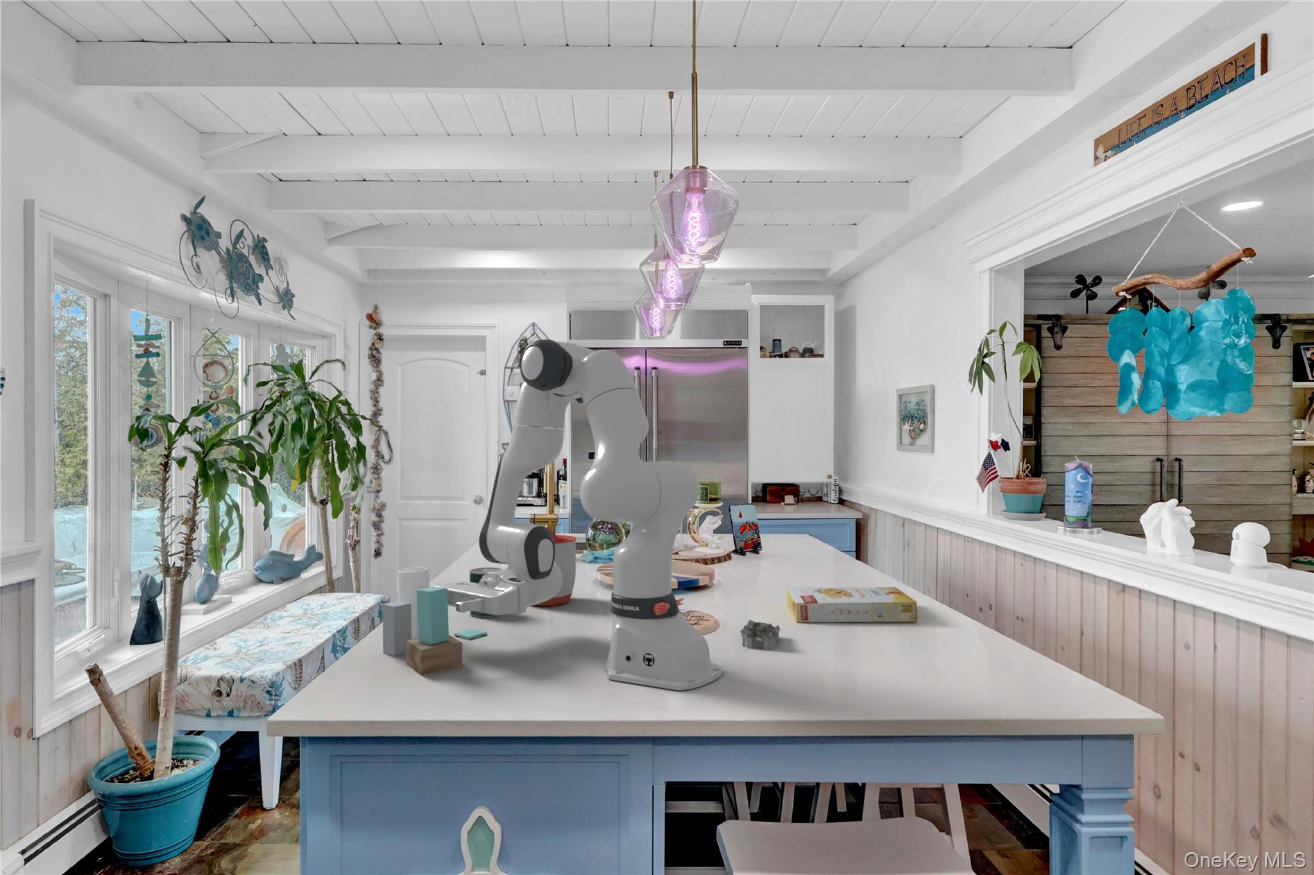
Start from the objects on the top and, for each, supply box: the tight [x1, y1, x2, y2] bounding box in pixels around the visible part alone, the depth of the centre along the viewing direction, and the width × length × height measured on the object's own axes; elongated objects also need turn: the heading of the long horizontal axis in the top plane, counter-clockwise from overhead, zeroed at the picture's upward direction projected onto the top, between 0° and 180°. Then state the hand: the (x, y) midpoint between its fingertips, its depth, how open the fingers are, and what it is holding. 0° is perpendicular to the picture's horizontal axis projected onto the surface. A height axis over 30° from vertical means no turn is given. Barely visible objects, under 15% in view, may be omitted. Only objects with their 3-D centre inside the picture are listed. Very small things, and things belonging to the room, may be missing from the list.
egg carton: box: [739, 619, 781, 651], centre depth 156 cm, size 11×8×4 cm
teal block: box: [417, 586, 450, 645], centre depth 142 cm, size 4×4×10 cm
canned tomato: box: [469, 566, 503, 619], centre depth 183 cm, size 8×8×11 cm
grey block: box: [382, 600, 413, 657], centre depth 151 cm, size 4×4×10 cm
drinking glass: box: [396, 566, 430, 640], centre depth 163 cm, size 7×7×15 cm
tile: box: [453, 628, 488, 640], centre depth 163 cm, size 5×5×1 cm
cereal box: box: [786, 586, 918, 624], centre depth 181 cm, size 20×6×28 cm
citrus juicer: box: [535, 526, 577, 607], centre depth 196 cm, size 16×17×20 cm
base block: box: [406, 634, 463, 676], centre depth 142 cm, size 8×8×5 cm
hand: (442, 604), depth 143 cm, fingers open, 8 cm apart
